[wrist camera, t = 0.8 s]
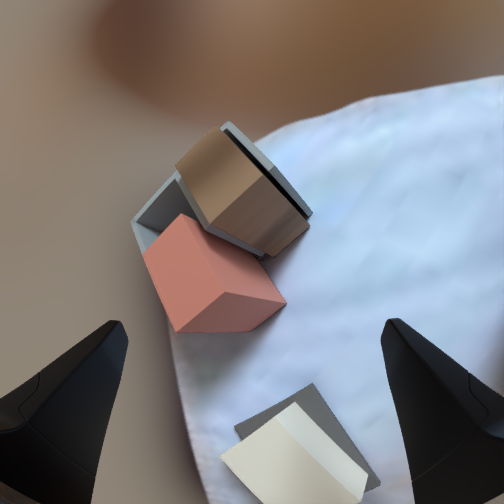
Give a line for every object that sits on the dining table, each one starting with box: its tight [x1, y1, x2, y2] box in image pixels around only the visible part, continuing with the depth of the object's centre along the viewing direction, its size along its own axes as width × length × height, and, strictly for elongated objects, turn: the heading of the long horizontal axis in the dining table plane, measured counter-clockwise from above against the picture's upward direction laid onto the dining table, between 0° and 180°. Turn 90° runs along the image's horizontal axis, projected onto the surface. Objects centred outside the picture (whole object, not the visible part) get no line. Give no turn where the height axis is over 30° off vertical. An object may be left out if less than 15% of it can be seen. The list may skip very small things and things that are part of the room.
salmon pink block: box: [142, 213, 287, 333], centre depth 20 cm, size 6×4×9 cm, turn 33°
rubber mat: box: [234, 383, 381, 492], centre depth 18 cm, size 11×8×1 cm
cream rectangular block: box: [220, 402, 368, 504], centre depth 16 cm, size 9×6×4 cm, turn 43°
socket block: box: [131, 120, 313, 266], centre depth 22 cm, size 6×11×8 cm, turn 123°
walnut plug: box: [175, 125, 310, 257], centre depth 21 cm, size 6×4×9 cm, turn 33°
